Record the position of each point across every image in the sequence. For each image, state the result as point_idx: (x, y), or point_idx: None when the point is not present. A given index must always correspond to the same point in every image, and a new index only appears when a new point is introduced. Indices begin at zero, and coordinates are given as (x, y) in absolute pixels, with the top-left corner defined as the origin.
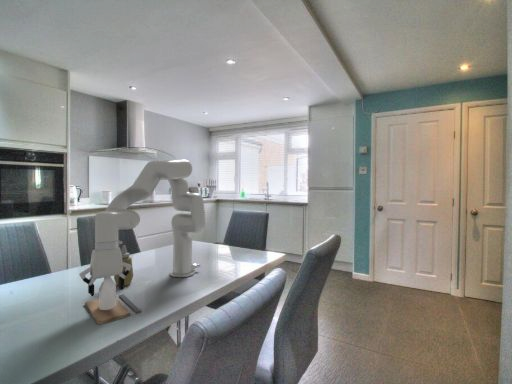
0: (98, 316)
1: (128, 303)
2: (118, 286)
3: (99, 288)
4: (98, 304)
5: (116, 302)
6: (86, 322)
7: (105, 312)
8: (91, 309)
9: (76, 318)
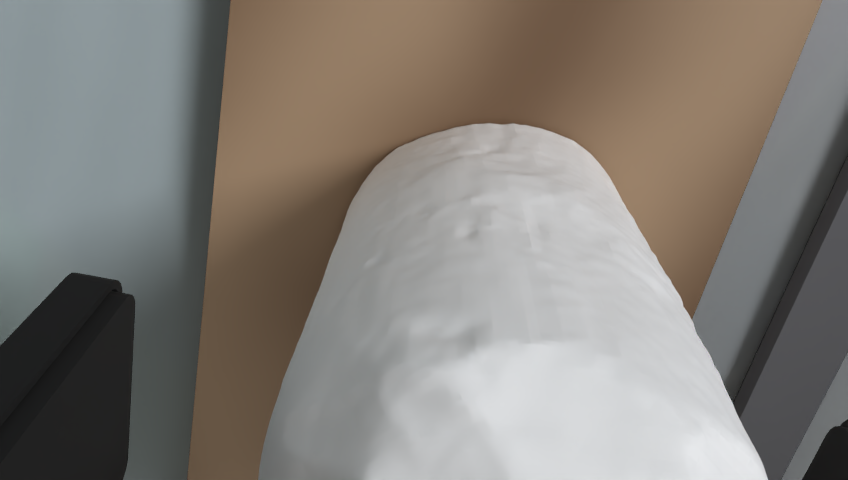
0: (229, 445)
1: (793, 330)
2: (846, 444)
3: (272, 475)
4: (421, 9)
5: (682, 197)
6: None
7: None
8: (236, 137)
9: (4, 157)
